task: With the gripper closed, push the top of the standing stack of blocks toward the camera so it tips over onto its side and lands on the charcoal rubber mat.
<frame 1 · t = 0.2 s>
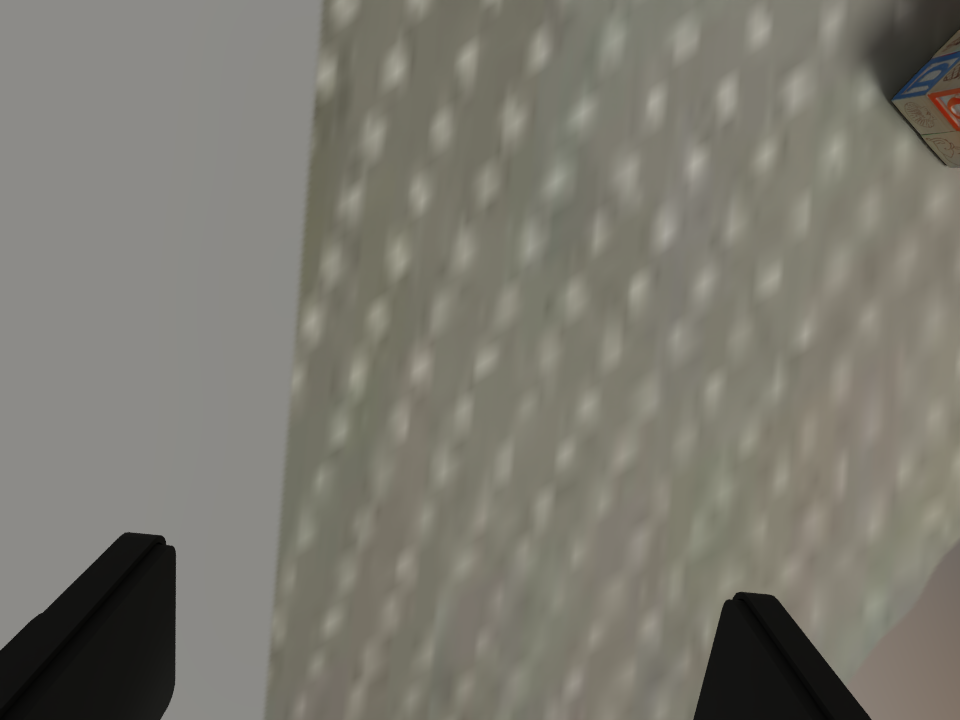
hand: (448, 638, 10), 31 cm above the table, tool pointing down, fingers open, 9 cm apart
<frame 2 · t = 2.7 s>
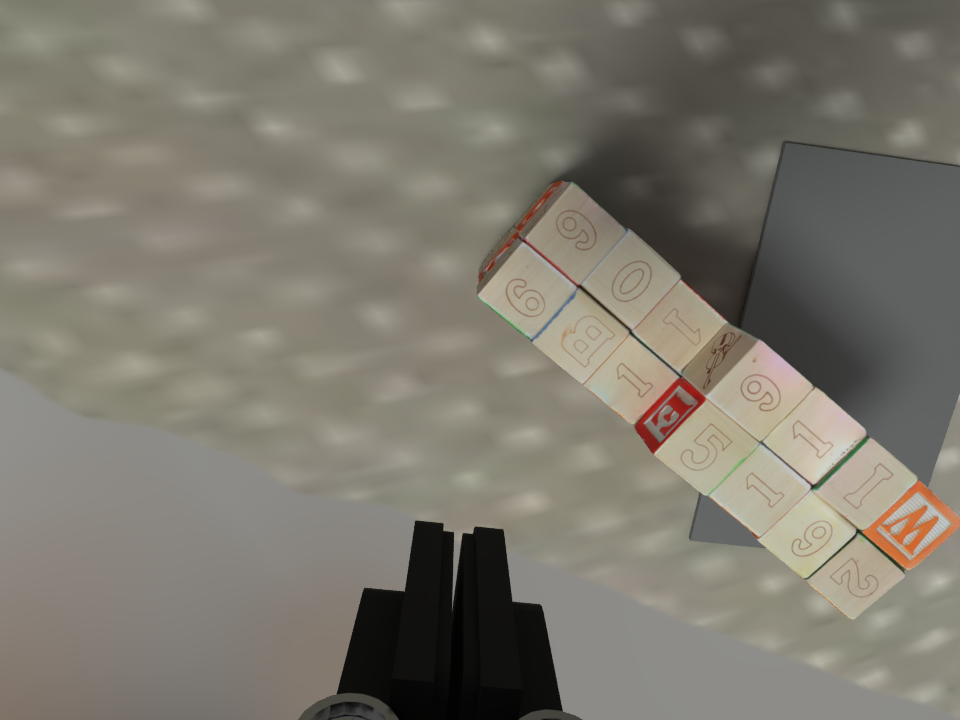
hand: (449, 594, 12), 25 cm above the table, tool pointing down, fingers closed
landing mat: (846, 370, 37), on the table
stack of blocks: (649, 346, 36), on the table, touching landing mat
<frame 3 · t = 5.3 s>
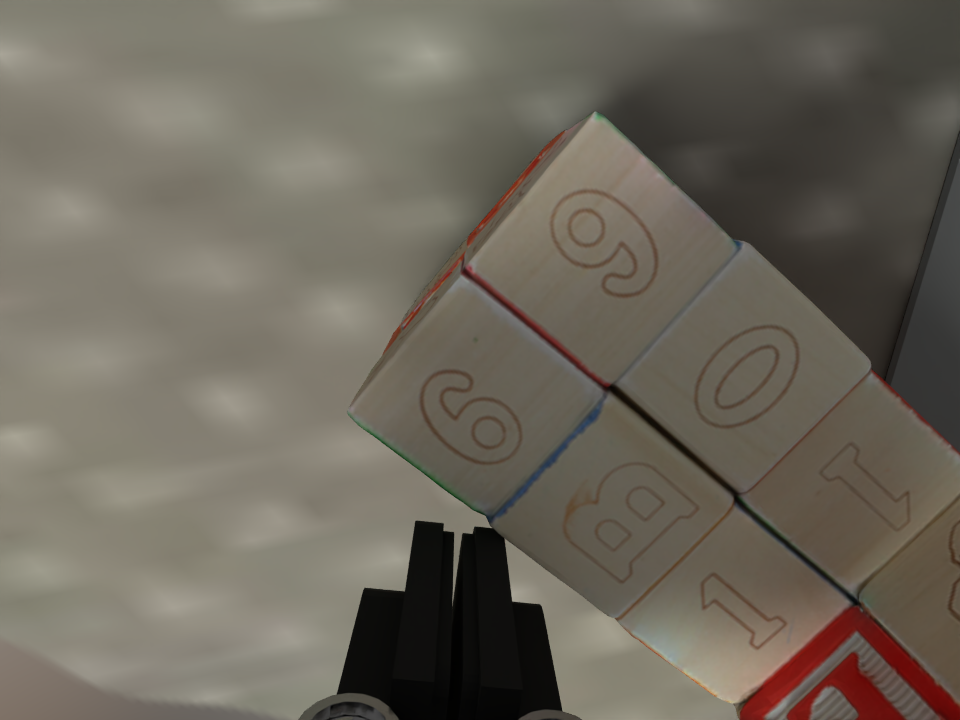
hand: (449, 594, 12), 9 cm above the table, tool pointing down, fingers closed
stack of blocks: (714, 450, 20), on the table, touching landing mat
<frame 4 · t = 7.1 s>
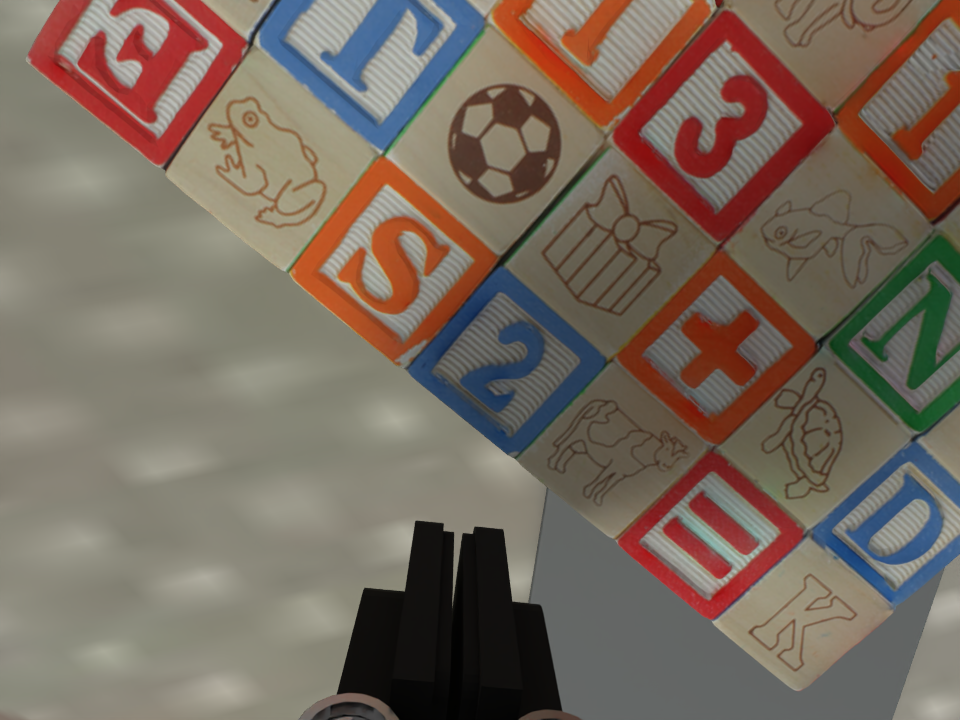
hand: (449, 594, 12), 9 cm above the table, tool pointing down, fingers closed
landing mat: (763, 463, 20), on the table
stack of blocks: (455, 387, 16), point 3 cm above the table, touching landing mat
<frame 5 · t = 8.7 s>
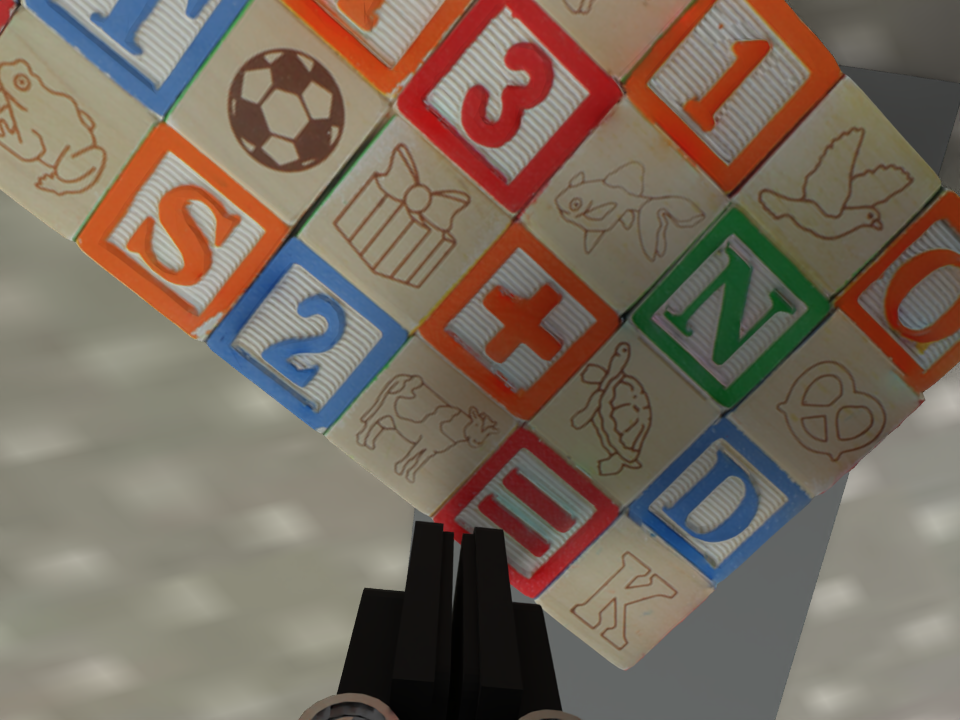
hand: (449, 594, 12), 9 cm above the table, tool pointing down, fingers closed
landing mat: (637, 448, 20), on the table
stack of blocks: (293, 365, 16), point 3 cm above the table, touching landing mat
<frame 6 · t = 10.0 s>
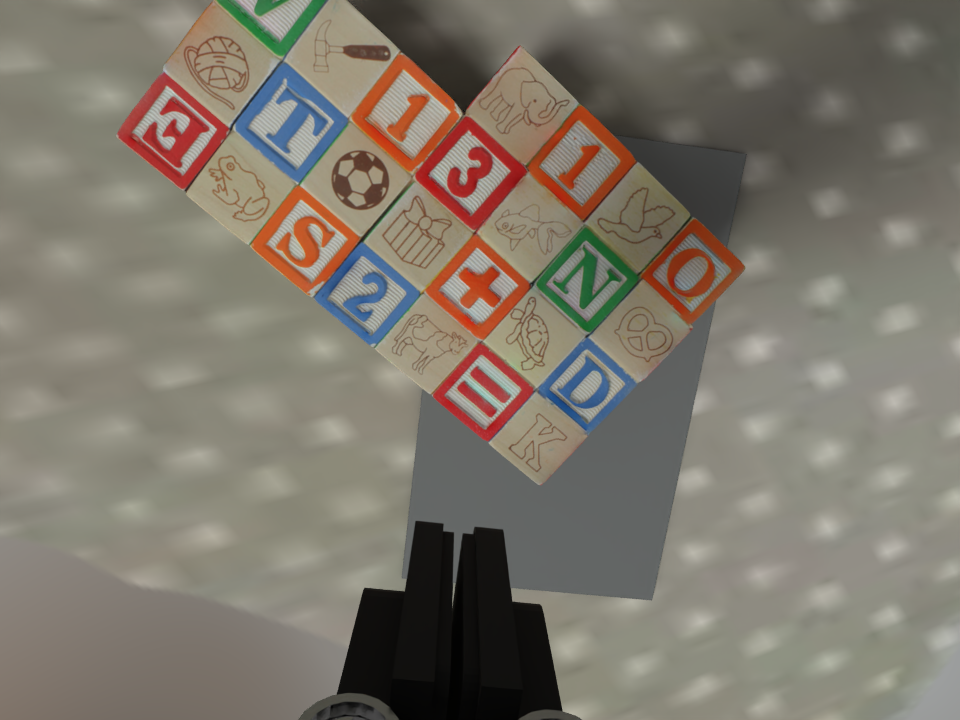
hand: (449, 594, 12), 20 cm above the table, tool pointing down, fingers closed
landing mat: (561, 379, 32), on the table
stack of blocks: (351, 318, 27), point 3 cm above the table, touching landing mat
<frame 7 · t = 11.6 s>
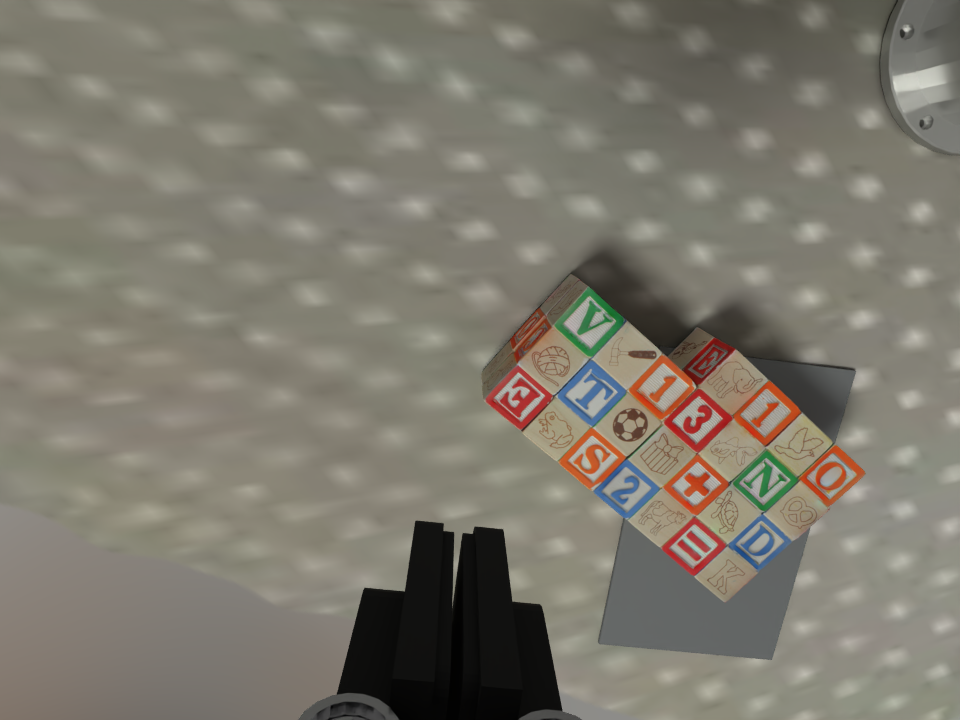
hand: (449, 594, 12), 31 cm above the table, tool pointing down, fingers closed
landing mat: (718, 513, 46), on the table
stack of blocks: (597, 488, 42), point 3 cm above the table, touching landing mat
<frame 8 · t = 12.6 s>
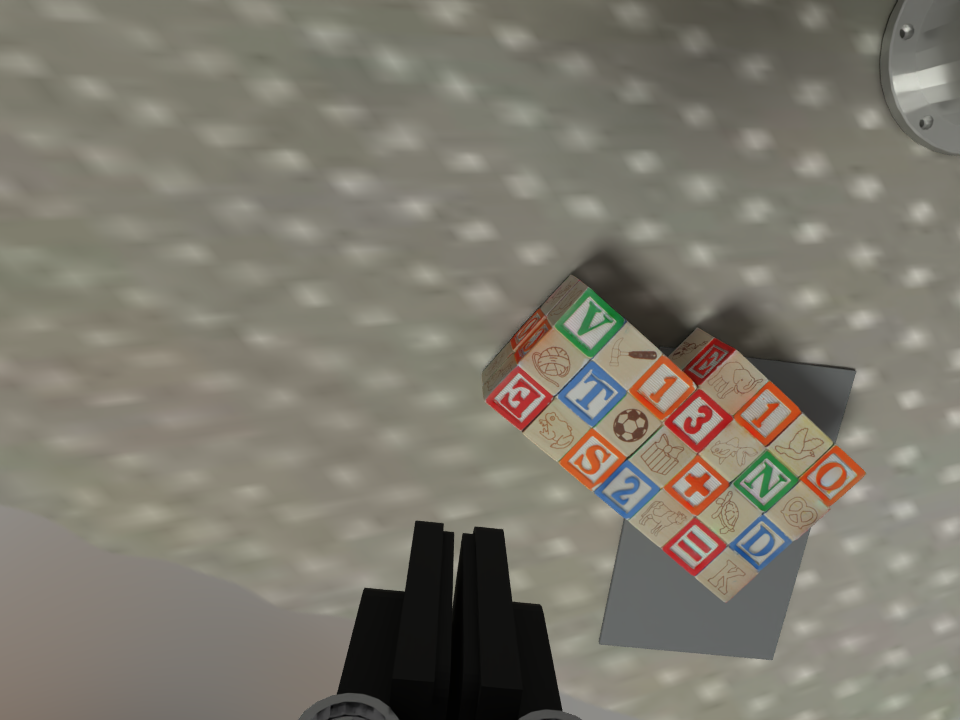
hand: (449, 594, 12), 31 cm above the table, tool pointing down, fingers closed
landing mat: (719, 513, 46), on the table
stack of blocks: (597, 489, 42), point 3 cm above the table, touching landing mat
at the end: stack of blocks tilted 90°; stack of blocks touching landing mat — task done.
